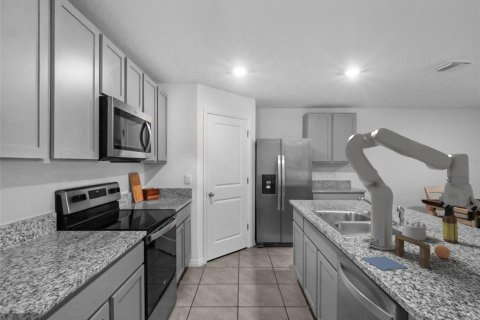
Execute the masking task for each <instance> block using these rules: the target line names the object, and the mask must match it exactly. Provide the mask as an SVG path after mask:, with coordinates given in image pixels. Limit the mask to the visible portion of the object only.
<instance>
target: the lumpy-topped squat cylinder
mask: <svg viewBox="0 0 480 320" xmlns="http://www.w3.org/2000/svg"><path fill="white" fill-rule="evenodd" d="M403 235H404V236H407V237H409V238H412V239H415V240H418V241H425V240H427V226H426V223H424V222H421V221H418V220H417V221H416V220H404V222H403Z"/></svg>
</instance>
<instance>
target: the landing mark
mask: <svg viewBox="0 0 480 320" xmlns="http://www.w3.org/2000/svg"><path fill="white" fill-rule="evenodd" d="M361 260H363V261H365V262H367V263H368V264H370V265H372V266H374V267H375V268H377V269H378V270H380V271H389V270H399V269H400V270H402V269H408V267H407V266H406V265H404V264H402V263H399V262H398V261H395V260H393V259H391V258H389V257H387V256H385V255H381V256H368V257H361Z"/></svg>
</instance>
